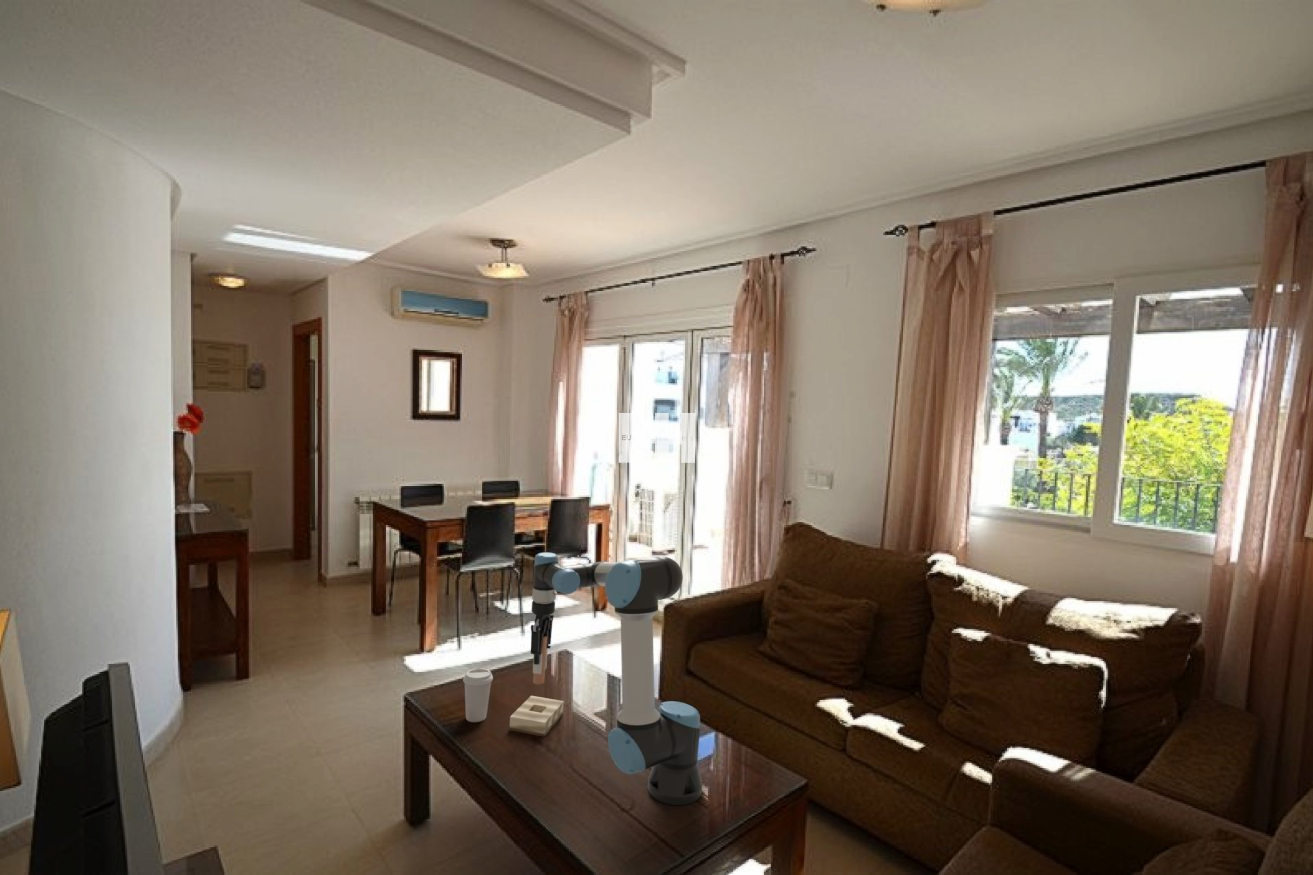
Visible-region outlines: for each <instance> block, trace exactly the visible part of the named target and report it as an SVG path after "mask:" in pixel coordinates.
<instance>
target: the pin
mask: <svg viewBox="0 0 1313 875" xmlns="http://www.w3.org/2000/svg"><path fill="white" fill-rule="evenodd" d="M546 645H547V637H546V636H543V643H542V651H541V654H542V669H541V674H536V673H533V678H532V679H533V680H532V682H533V684H534V685H542V684H545V679H546V678H545V676H546V675H545V674H546V669H545V662H546Z"/></svg>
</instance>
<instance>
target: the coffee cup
mask: <svg viewBox="0 0 1313 875" xmlns="http://www.w3.org/2000/svg"><path fill="white" fill-rule="evenodd" d="M463 676H464V677H463V678H462V682H463V683H464V702H465V719H466V720H467V721H468V722H470V723H479V722H480V723H481V722H482V721H484V720H486V718H487V714H488V709H489V708H488V707H489V701H490V700H489V699H490V692H491V685H492V681H493V680H494V677H493V674H492V671H491V670H489V669H488V668H483V667H477V668H476V667H475V668H471V669H469V670H467V671H466V673H465V675H463Z"/></svg>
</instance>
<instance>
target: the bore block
mask: <svg viewBox="0 0 1313 875" xmlns="http://www.w3.org/2000/svg"><path fill="white" fill-rule="evenodd" d="M564 703H565V701H564V700H561V699H560V700H559V699H552V698H547V697H541V696H535V695H530V696H529V697H528V698H527V699H526V700H525V701H524V702H523V703H522V704H521V705H520V706H519V707H518V708H517V709H516V710H515V711H514V712H513V713H512V714H511V715H510V716H509V731H511V732H516V733H522V734H528V735H532V736H537V737H543V738H544V737H546V736H547V734H549V732H550V730H551V729H553V727H554V726H555V725H556V723H557V722H558V721H559V720H560V719H561V718H562V716H563V715H564Z"/></svg>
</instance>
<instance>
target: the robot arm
mask: <svg viewBox="0 0 1313 875" xmlns="http://www.w3.org/2000/svg"><path fill="white" fill-rule="evenodd" d="M532 578H533V579H532V580H533V583H532V596H531V598H532V599H531V600H532V601H531V612H532V614H534V615H535V619H534V624H531V625H530V632H531V633H530V654H531V655H533V662H532V674H534V673H536V674H541V669H542V654H541V651H542V643H543V636H546V637H547V645H546V662H545V670H547V662H548V650H549V649H551V644H552V631H553V621H554V618H555V617H554V613H555V611H556V601H555V600H556V595H557V594H558V593H557V592H559V593H561V594H564V595H570V594H573V593H574V592H576V591H577V590H578V589H584V588H590V587H591V588H592V587H605V588H604V590H605V596H606V597H607V601H608V604H610V605H611V606H612V607H613V608H614V613H615V614H616V615H617V616H618V617H619V618H620V650H621V652H620V654H621V656H620V658H621V701H622V702H621V703H622V704H621V705H622V706H621V707H622V708H621V710H620V711H619V712H618V713H617V714H616V726H615V727H613V728H612V729H611V730H610V731H609V733H608V735H607V745H608V750H609V754H610V756H611V758H612V760H613V762H614V764H615V766H616V767H617V768H618V769H619V770H620V771H621V772H622V773H624V774H628V775H633V774H636V773H641V772H643V771H645V770H647V769H650V768H651V770H650V772H649V775H648V778H647V790H648V793H649V794H650V795H651V796H652V797H653V798H654V799H655V800H657V801H659V802H660V803H663V804H667V805H672V806H685V805H689V804H690V805H691V804H692V803H694V802H696V801H698V800H699V799H700V797H701V796H702V793H703V781H702V780H703V779H702V776H701V772H700V768H699V765H698V764H699V763H698V759H699V758H698V757H699V744H700V732H701V715H700V713H699V711H698V710H697V708H695V707H694V706H692V705H690V704H687V703H685V702H681V701H674V700H673V701H672V700H670V701H669V700H667V701H663V702H661V703H660V704H659V707H658V709H656V707H655V706H656V702H655V699H656V698H655V669H654V668H655V664H654V663H655V662H654V659H655V658H654V626H653V625H654V621H653V620H654V616H655V615H656V614H657V612H658V611H659V601H662V600H666V599H669V598H670V597H673V596H675V594H676V593H678V591H679V590H680V588H681V586H682V584H683V578H684V577H683V571H682V568H681V566H680V565H679V563H678V562H676V560H674V559H672V558H670V557H667V556H652V557H644V558H636V559H627V560H624V561H619V562H610V561H596V562H589V563H580V564H573V565H572V564H571V565H561V564H559V560H558V555H557V554H556V553H554V552H539V553H537V554H535V557H534V564H533V576H532Z"/></svg>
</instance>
